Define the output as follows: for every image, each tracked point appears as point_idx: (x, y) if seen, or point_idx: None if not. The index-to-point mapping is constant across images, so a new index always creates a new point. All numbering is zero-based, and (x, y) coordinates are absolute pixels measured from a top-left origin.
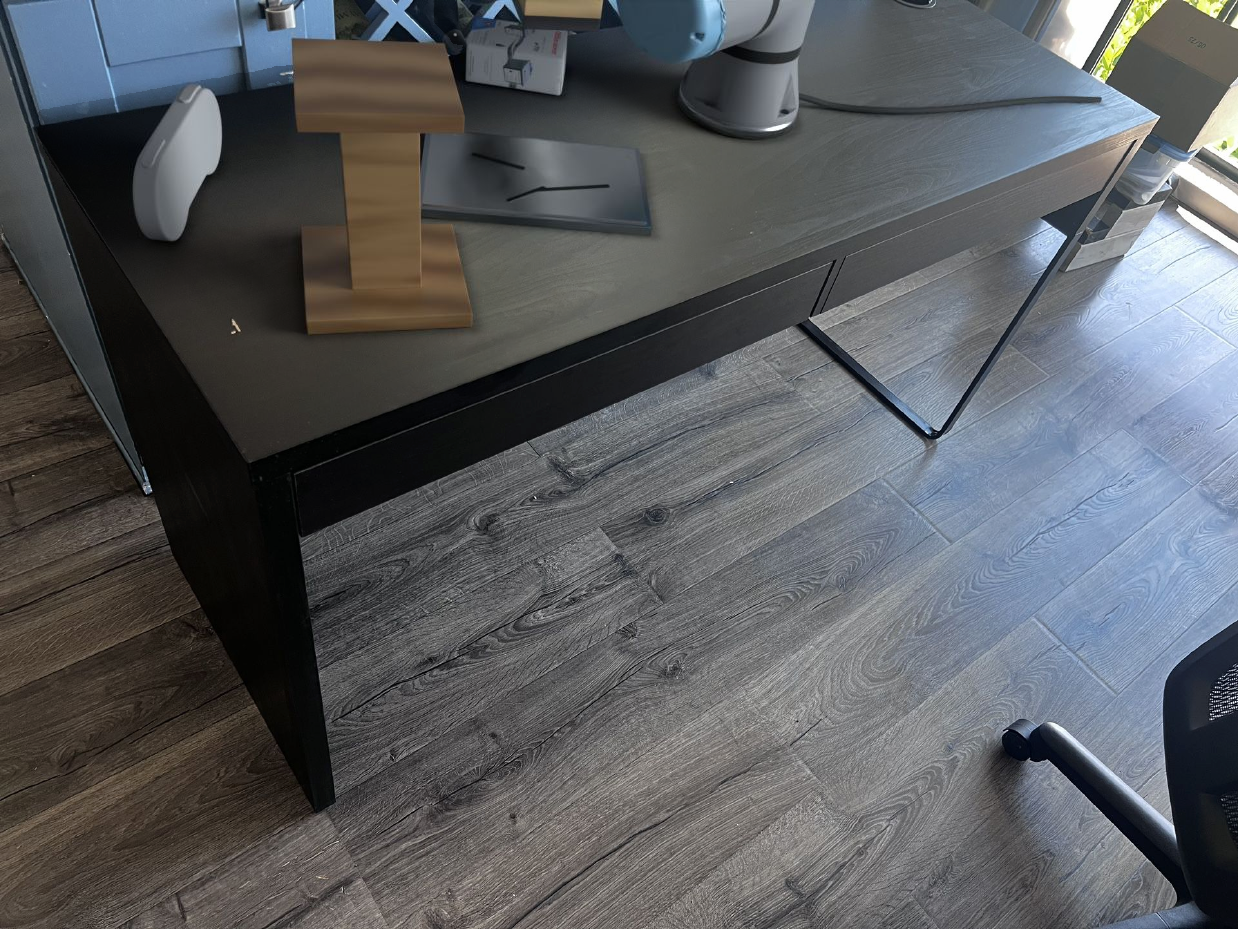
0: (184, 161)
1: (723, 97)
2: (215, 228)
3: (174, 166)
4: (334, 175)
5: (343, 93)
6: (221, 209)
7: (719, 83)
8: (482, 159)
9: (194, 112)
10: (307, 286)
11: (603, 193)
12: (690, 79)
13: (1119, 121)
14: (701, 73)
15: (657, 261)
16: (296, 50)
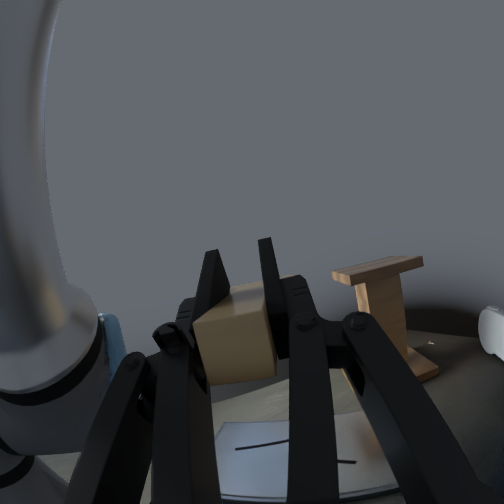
0: (498, 331)
1: (62, 483)
2: (479, 361)
3: (491, 322)
4: (457, 414)
5: (380, 260)
6: (488, 367)
7: (51, 485)
8: (345, 458)
9: None
10: (413, 350)
11: (244, 442)
12: None
13: None
14: (50, 497)
15: (233, 413)
16: (413, 256)
